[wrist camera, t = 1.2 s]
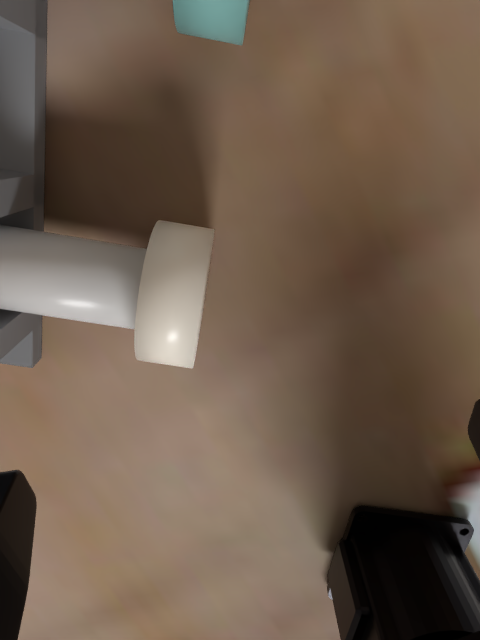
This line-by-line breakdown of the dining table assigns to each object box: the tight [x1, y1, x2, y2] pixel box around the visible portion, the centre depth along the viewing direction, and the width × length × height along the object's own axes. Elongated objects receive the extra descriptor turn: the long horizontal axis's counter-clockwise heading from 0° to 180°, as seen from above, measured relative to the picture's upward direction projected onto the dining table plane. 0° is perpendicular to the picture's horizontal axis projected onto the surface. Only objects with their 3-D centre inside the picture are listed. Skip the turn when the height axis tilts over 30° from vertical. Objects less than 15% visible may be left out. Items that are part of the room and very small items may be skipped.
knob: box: [0, 220, 215, 368], centre depth 17 cm, size 9×5×5 cm, turn 80°
